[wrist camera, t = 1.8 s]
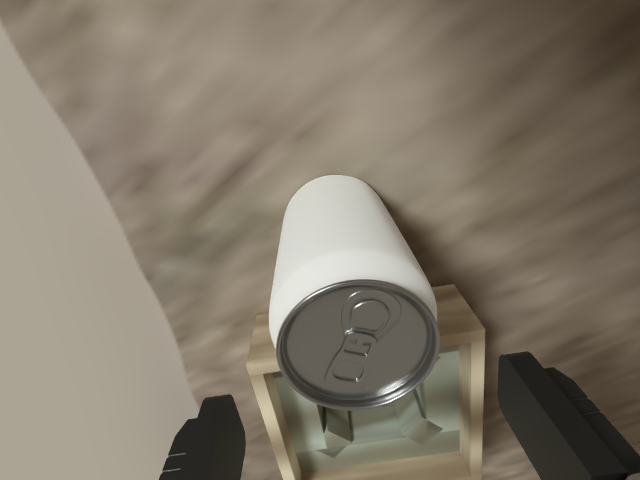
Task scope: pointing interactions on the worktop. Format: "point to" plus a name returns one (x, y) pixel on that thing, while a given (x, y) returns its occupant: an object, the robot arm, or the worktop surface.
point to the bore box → (383, 413)
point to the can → (349, 300)
